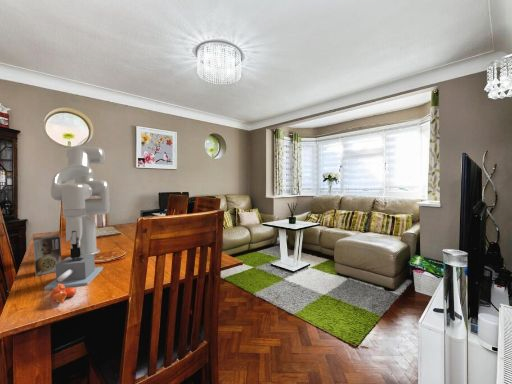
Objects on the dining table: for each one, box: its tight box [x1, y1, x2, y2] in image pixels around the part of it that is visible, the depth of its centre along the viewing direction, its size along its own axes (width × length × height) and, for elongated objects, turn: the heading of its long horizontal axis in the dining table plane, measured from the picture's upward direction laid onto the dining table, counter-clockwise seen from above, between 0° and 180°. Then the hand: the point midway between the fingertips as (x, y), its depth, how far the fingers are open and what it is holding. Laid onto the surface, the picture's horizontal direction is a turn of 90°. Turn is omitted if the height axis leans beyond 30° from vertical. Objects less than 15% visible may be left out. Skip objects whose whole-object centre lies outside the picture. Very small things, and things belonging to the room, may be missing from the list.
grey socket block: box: [44, 255, 104, 291], centre depth 96 cm, size 22×14×8 cm, turn 17°
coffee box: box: [32, 234, 63, 277], centre depth 105 cm, size 9×6×16 cm
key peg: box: [72, 239, 81, 262], centre depth 98 cm, size 3×3×12 cm
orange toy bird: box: [49, 284, 77, 304], centre depth 81 cm, size 5×8×12 cm
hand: (76, 255), depth 98 cm, fingers closed on key peg, 3 cm apart
